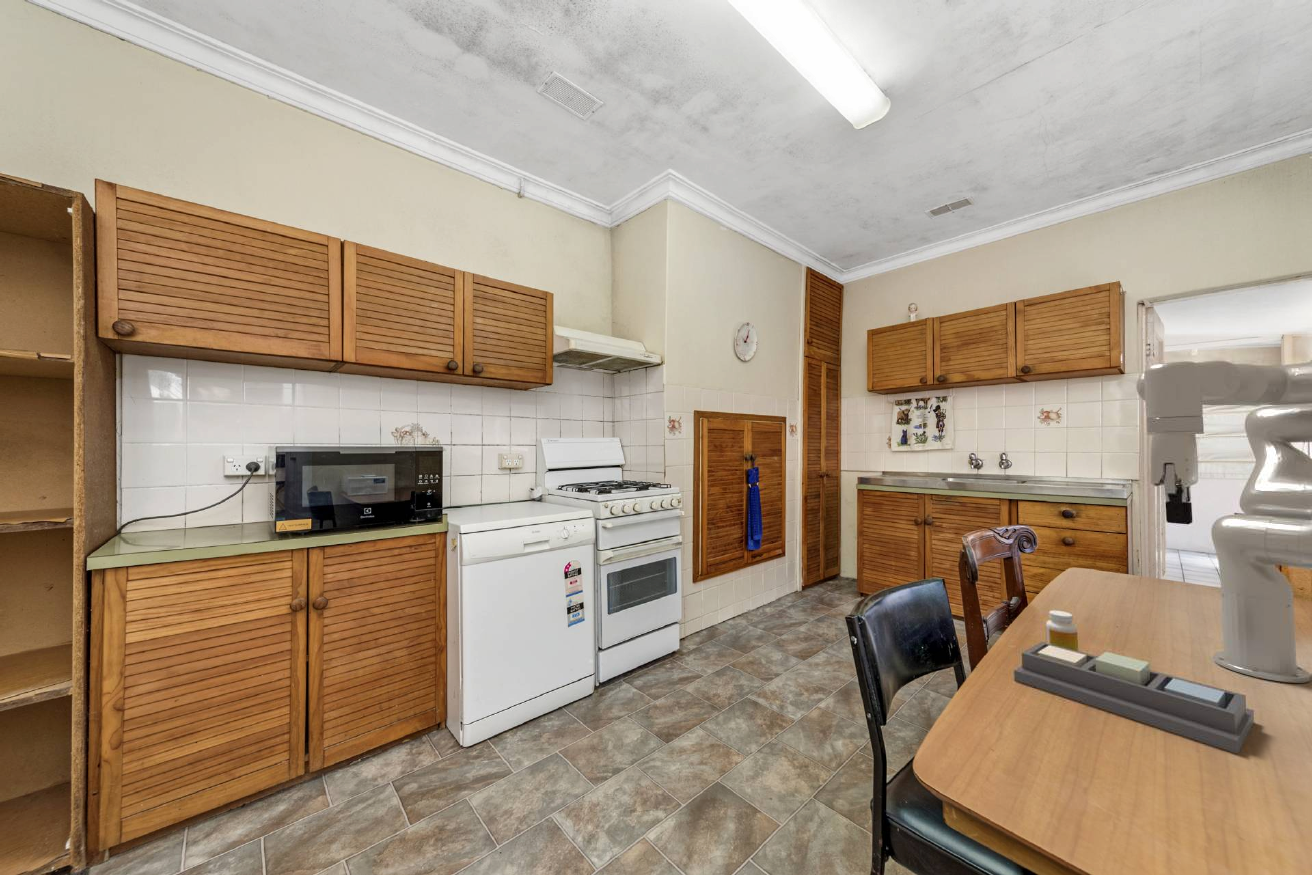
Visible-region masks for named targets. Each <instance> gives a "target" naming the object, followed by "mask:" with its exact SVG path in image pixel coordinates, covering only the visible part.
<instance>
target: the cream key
mask: <svg viewBox="0 0 1312 875" xmlns="http://www.w3.org/2000/svg"><path fill="white" fill-rule="evenodd" d="M1038 656H1040V657H1044V658H1047V659H1051V660H1055V661H1058V662H1062V663H1065V664H1069V665H1072V666H1076V667H1079V668H1081V667H1082V666H1083V665H1085V664H1086V663H1087V658H1086V655H1084V654H1080V653H1076V652H1073V651H1069V650H1065V649H1061V648H1058V647H1054V646H1050V645H1049V646H1047V647H1046V648H1044V649H1042V650H1041V651H1039V652H1038Z"/></svg>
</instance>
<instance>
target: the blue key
mask: <svg viewBox="0 0 1312 875" xmlns="http://www.w3.org/2000/svg"><path fill="white" fill-rule="evenodd" d="M1164 690H1165V692H1167V693H1170V694H1174V695H1178V696H1181V697H1185V698H1188V699H1192V700H1195V701H1199V702H1202V703H1206V704H1209V705H1213V706H1216V707H1220V708H1223V709H1226V708H1225V692H1223V691H1219V690H1216V689H1212V688H1208V687H1204V686H1201V685H1197V684H1193V683H1189V682H1186V681H1182V680H1178V679H1174V678H1173V679H1172V680H1171V681H1170V682H1169V683H1168V684H1167V686H1166V687H1165V688H1164Z"/></svg>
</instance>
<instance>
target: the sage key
mask: <svg viewBox="0 0 1312 875" xmlns="http://www.w3.org/2000/svg"><path fill="white" fill-rule="evenodd" d="M1095 662H1096V672H1097V673H1100V674H1104V675H1107V676H1111V677H1114V678H1118V679H1121V680H1125V681H1128V682H1132V683H1135V684H1139V685H1142V686H1144V685H1145V684H1146V683H1147V682H1148V681H1149V680H1150V670H1151V669H1150V662H1149V661H1144V660H1140V659H1137V658H1134V657H1129V656H1124V655H1120V654H1116V653H1113V652H1110V651H1105V652H1103V653H1102V654H1101V655H1100V656H1098V658H1097V659H1095Z"/></svg>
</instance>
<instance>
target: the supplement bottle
mask: <svg viewBox="0 0 1312 875" xmlns="http://www.w3.org/2000/svg"><path fill="white" fill-rule="evenodd" d="M1048 618H1049V620H1048V621H1046V623H1045V640H1046V642H1045V643H1049V644H1053V645H1056V646H1060V647H1064V648H1068V649H1072V650H1075V651H1079V640H1078V628H1077V626H1076V625H1075V624H1073V621H1074V618H1073V614H1071V613H1069V612H1067V611H1062V610H1049V617H1048Z"/></svg>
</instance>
